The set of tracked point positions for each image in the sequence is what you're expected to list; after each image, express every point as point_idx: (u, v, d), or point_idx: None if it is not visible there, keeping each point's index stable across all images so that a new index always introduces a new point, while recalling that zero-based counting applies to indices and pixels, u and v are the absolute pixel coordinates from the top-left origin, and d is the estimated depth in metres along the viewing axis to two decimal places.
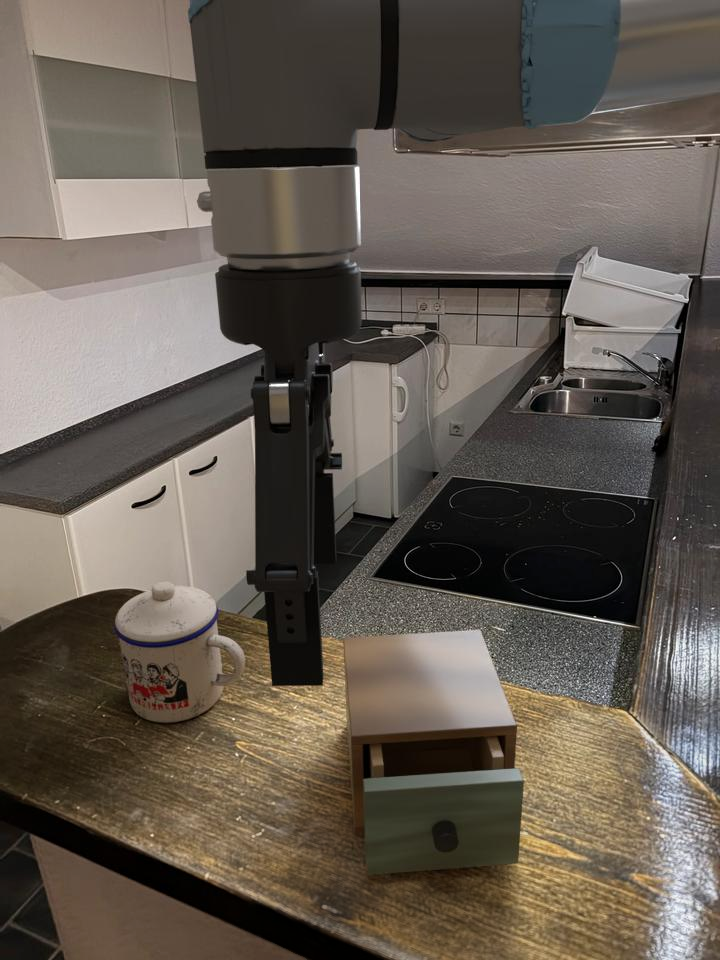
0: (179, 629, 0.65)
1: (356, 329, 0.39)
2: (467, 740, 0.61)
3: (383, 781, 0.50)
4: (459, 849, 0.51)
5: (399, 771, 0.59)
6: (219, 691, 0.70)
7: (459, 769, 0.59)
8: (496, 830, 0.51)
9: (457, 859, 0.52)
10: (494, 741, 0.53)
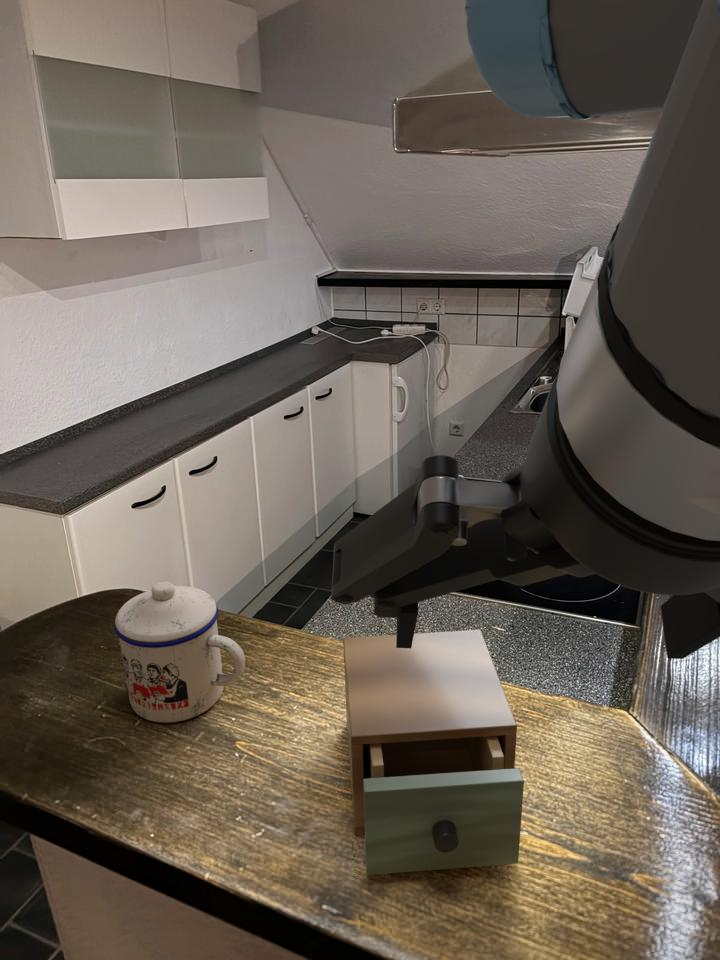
0: (179, 629, 0.65)
1: None
2: (467, 740, 0.61)
3: (383, 781, 0.50)
4: (459, 849, 0.51)
5: (399, 771, 0.59)
6: (219, 691, 0.70)
7: (459, 769, 0.59)
8: (496, 830, 0.51)
9: (457, 859, 0.52)
10: (494, 741, 0.53)
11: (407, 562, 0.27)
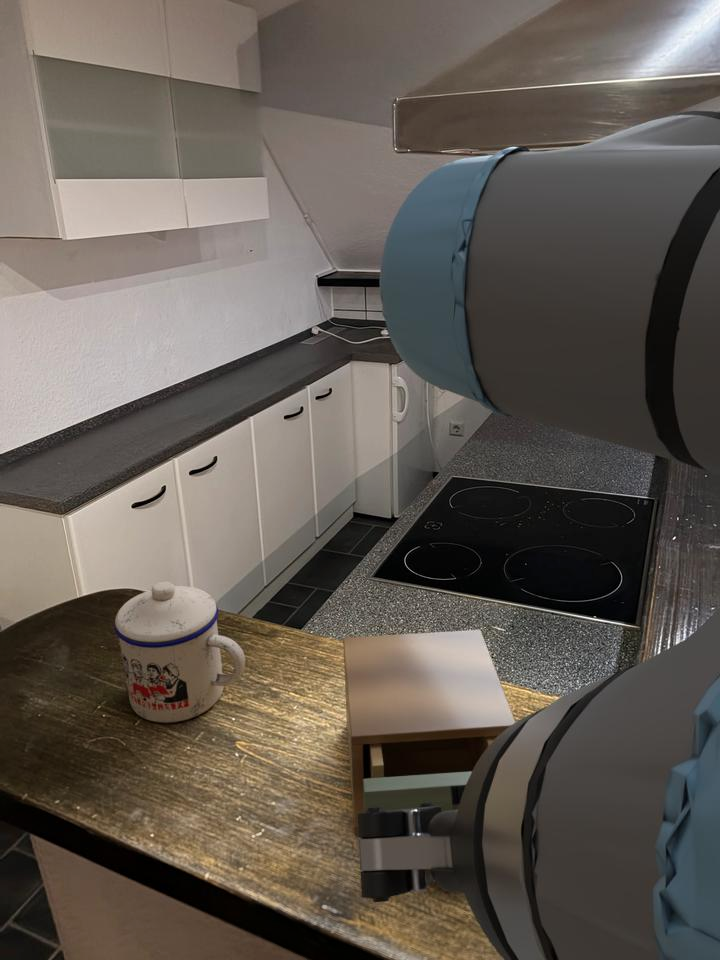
0: (179, 629, 0.65)
1: None
2: (467, 740, 0.61)
3: (383, 781, 0.50)
4: None
5: (399, 771, 0.59)
6: (219, 691, 0.70)
7: (459, 769, 0.59)
8: None
9: None
10: None
11: None
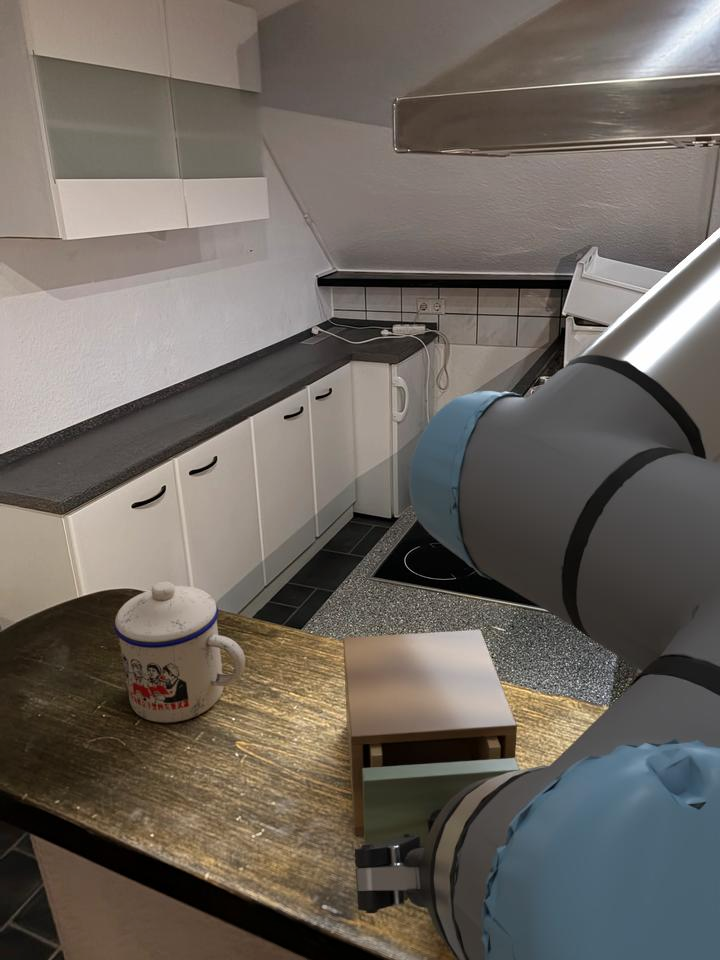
0: (179, 629, 0.65)
1: None
2: None
3: (382, 771, 0.50)
4: None
5: (397, 762, 0.60)
6: (219, 691, 0.70)
7: (456, 760, 0.60)
8: None
9: None
10: None
11: None
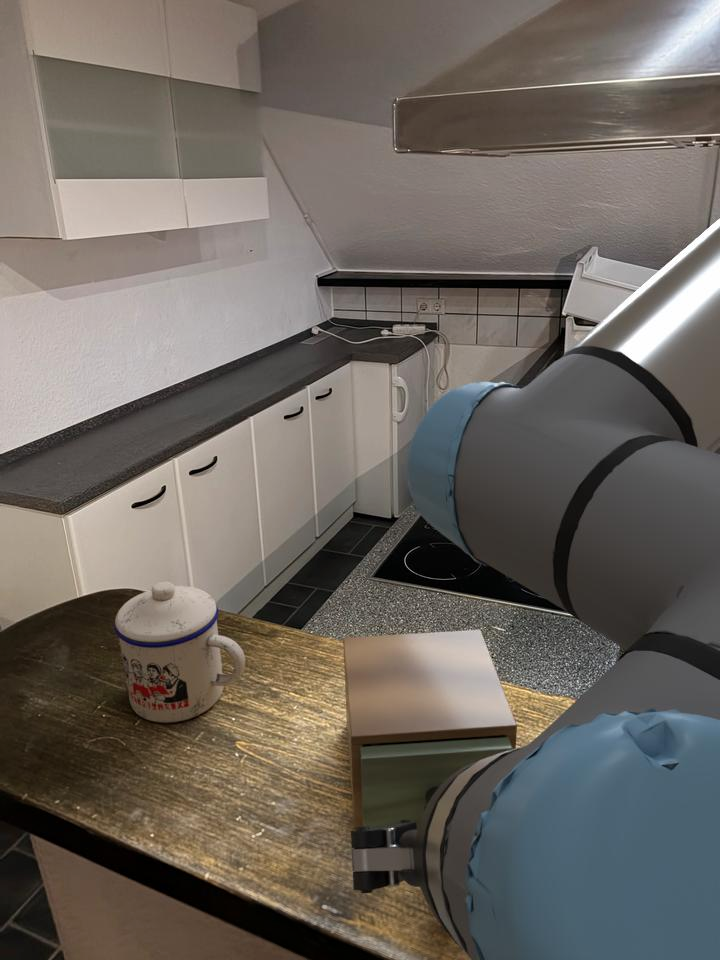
0: (179, 629, 0.65)
1: None
2: None
3: (379, 749, 0.52)
4: None
5: (395, 744, 0.62)
6: (219, 691, 0.70)
7: None
8: None
9: None
10: None
11: None
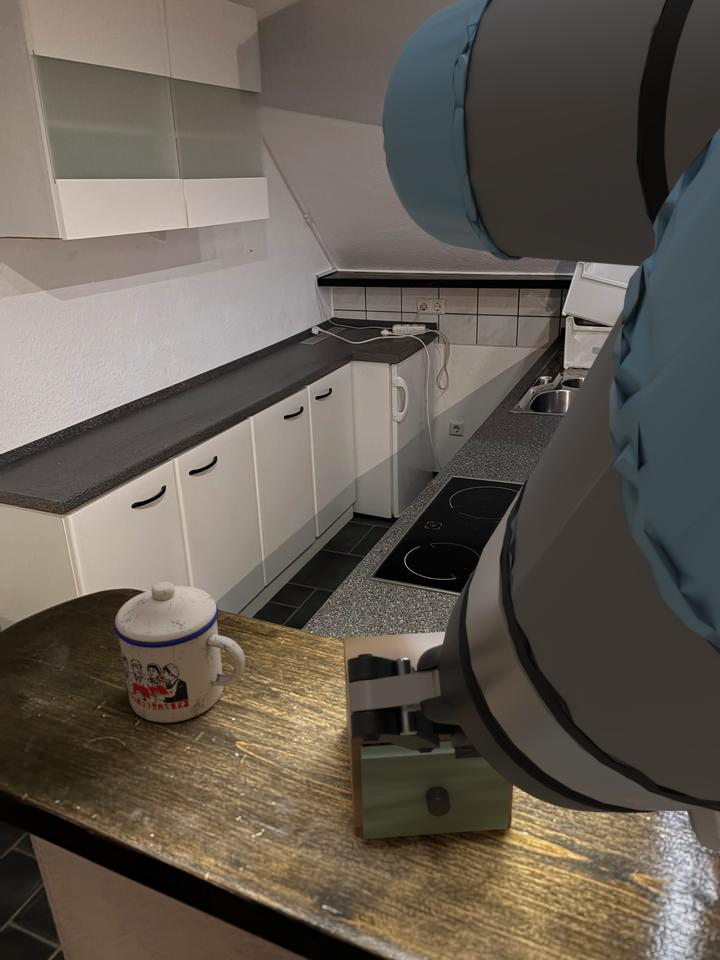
0: (179, 629, 0.65)
1: None
2: None
3: (379, 749, 0.52)
4: (451, 814, 0.54)
5: None
6: (219, 691, 0.70)
7: None
8: (486, 796, 0.54)
9: (449, 824, 0.54)
10: None
11: (404, 741, 0.27)
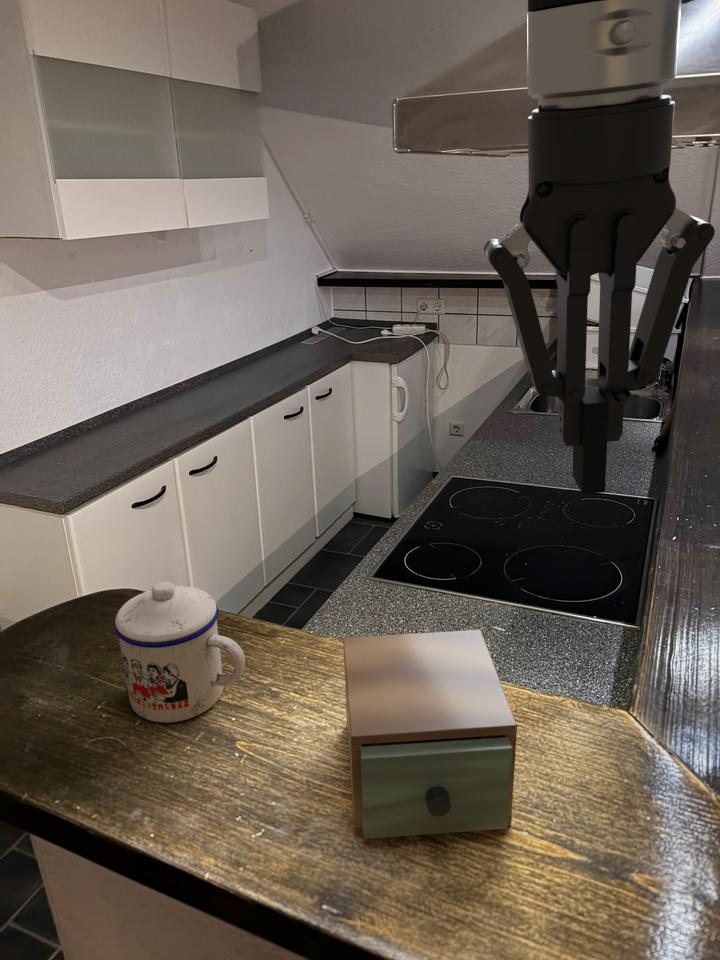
0: (179, 629, 0.65)
1: None
2: None
3: (379, 749, 0.52)
4: (451, 814, 0.54)
5: (395, 744, 0.62)
6: (219, 691, 0.70)
7: None
8: (486, 796, 0.54)
9: (449, 824, 0.54)
10: None
11: (524, 307, 0.45)
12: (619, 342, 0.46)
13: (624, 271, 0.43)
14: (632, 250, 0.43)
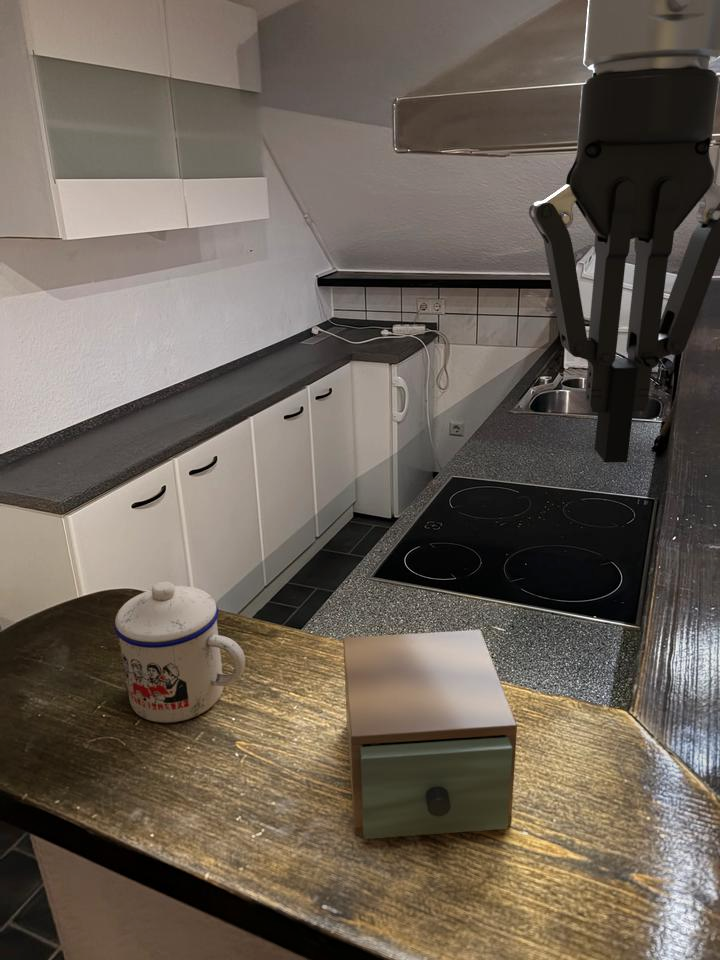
0: (179, 629, 0.65)
1: None
2: None
3: (379, 749, 0.52)
4: (451, 814, 0.54)
5: (395, 744, 0.62)
6: (219, 691, 0.70)
7: None
8: (486, 796, 0.54)
9: (449, 824, 0.54)
10: None
11: (564, 264, 0.47)
12: (652, 308, 0.48)
13: (662, 236, 0.46)
14: (671, 215, 0.45)
